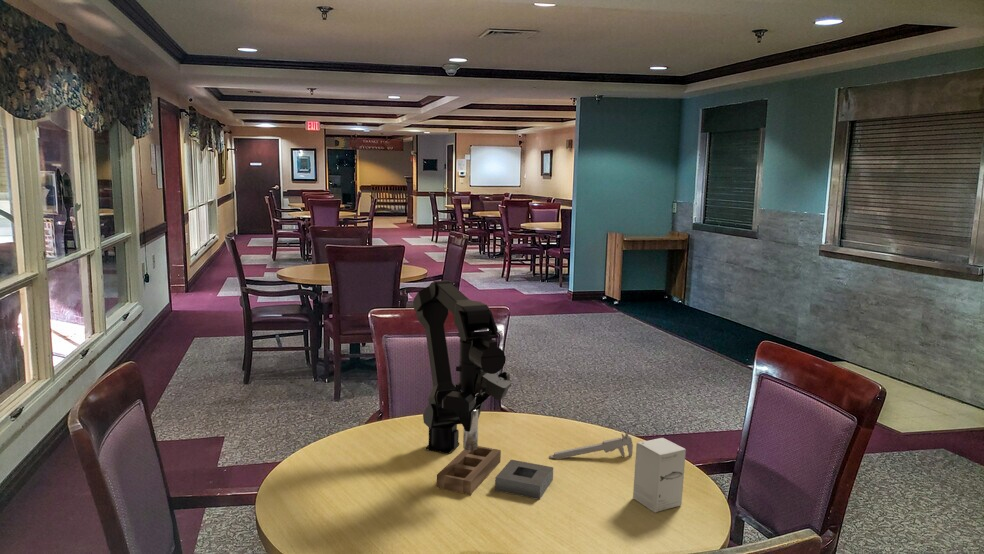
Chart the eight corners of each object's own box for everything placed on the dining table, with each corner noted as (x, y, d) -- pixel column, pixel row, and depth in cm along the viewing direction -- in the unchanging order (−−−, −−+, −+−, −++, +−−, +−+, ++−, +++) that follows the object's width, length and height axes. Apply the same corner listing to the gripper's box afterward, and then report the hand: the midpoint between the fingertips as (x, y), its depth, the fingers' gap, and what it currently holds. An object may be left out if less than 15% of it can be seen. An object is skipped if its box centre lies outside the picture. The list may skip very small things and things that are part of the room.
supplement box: (655, 513, 139) (659, 454, 137) (631, 498, 145) (635, 441, 143) (682, 506, 142) (687, 448, 140) (658, 491, 149) (662, 436, 147)
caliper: (630, 456, 167) (632, 431, 166) (632, 457, 166) (633, 433, 165) (548, 458, 165) (549, 433, 164) (549, 460, 164) (550, 435, 163)
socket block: (495, 490, 147) (495, 477, 146) (510, 471, 156) (511, 459, 156) (539, 499, 143) (540, 486, 143) (552, 479, 153) (553, 467, 152)
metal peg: (460, 449, 153) (461, 410, 151) (466, 443, 156) (467, 405, 154) (474, 451, 151) (475, 412, 150) (479, 446, 154) (480, 408, 153)
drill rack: (436, 487, 147) (436, 474, 147) (469, 456, 164) (469, 444, 164) (470, 494, 145) (471, 481, 144) (500, 462, 161) (500, 450, 161)
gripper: (491, 377, 139) (489, 450, 141) (520, 355, 156) (518, 420, 159) (441, 370, 143) (440, 441, 145) (475, 349, 160) (474, 413, 162)
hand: (470, 428), depth 153 cm, fingers closed on metal peg, 3 cm apart
